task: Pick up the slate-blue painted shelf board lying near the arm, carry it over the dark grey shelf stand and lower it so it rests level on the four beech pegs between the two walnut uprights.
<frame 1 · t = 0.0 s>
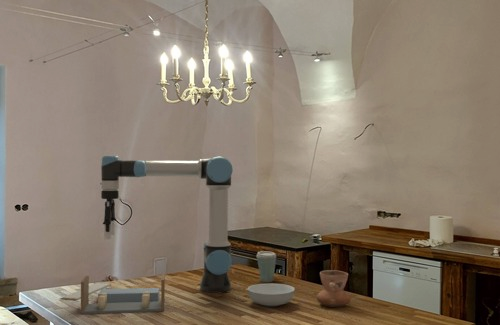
hand: (109, 237, 233), 28 cm above the kitchen island countertop, tool pointing down, fingers open, 13 cm apart
disposable coffee cup: (266, 281, 271), on the kitchen island countertop
ceramic jug: (333, 305, 226), on the kitchen island countertop
shelf board: (129, 300, 231), on the kitchen island countertop
serving bowl: (270, 304, 227), on the kitchen island countertop
peg shelf: (124, 308, 217), on the kitchen island countertop
baseboard: (85, 293, 246), on the kitchen island countertop
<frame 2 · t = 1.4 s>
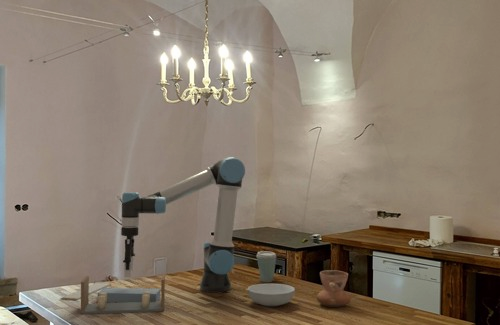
hand: (128, 274, 231), 12 cm above the kitchen island countertop, tool pointing down, fingers open, 13 cm apart
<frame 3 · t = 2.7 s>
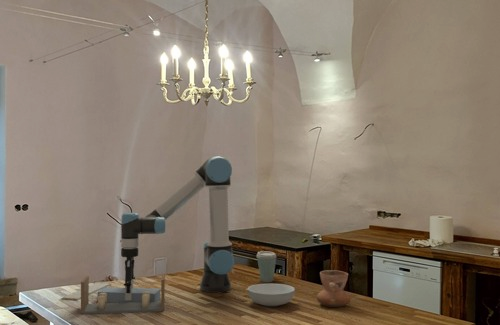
hand: (129, 297, 231), 1 cm above the kitchen island countertop, tool pointing down, fingers closed on shelf board, 10 cm apart
shelf board: (129, 300, 231), on the kitchen island countertop, touching gripper
everything else where it was.
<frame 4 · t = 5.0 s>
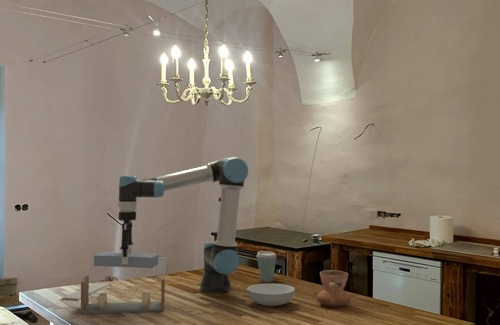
hand: (126, 261, 226), 18 cm above the kitchen island countertop, tool pointing down, fingers closed on shelf board, 10 cm apart
shelf board: (126, 265, 226), point 17 cm above the kitchen island countertop, touching gripper
everything else where it was.
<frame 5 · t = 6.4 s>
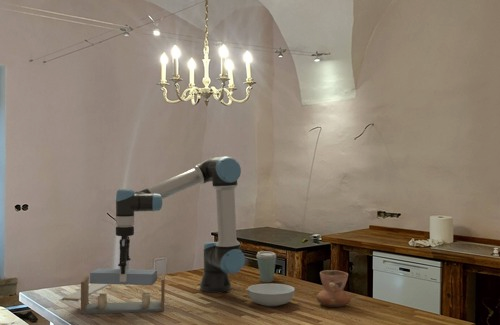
hand: (124, 278, 217), 13 cm above the kitchen island countertop, tool pointing down, fingers closed on shelf board, 10 cm apart
shelf board: (124, 282, 217), point 11 cm above the kitchen island countertop, touching gripper
everything else where it was.
when the fingers open (9 cm above the kitchen island countertop, at t = 7.6 s): shelf board drops 1 cm, resting on peg shelf.
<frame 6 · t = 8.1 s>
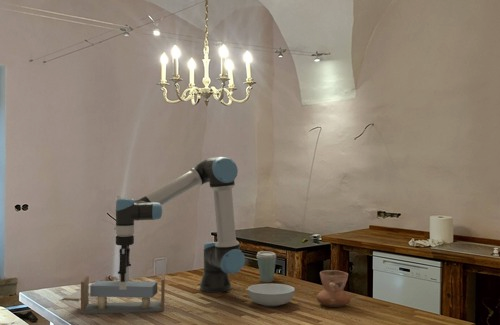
hand: (124, 285, 217), 10 cm above the kitchen island countertop, tool pointing down, fingers open, 13 cm apart
shelf board: (124, 294, 217), point 6 cm above the kitchen island countertop, touching peg shelf
everything else where it was.
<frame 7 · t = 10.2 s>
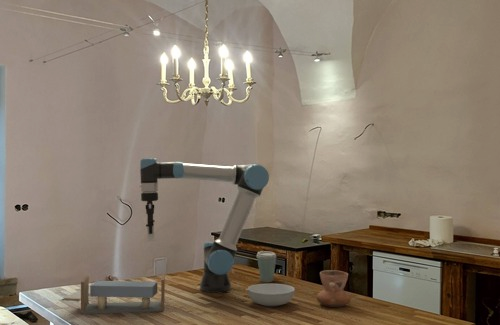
hand: (150, 238, 234), 27 cm above the kitchen island countertop, tool pointing down, fingers open, 13 cm apart
nothing on the kitchen island countertop moved.
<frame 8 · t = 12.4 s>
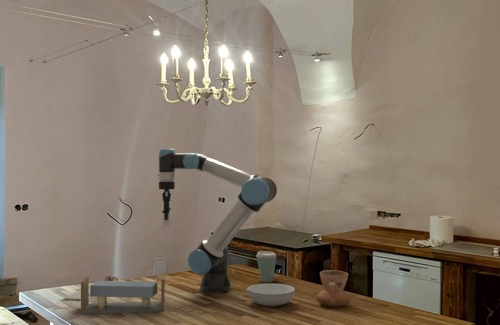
hand: (166, 225, 248), 32 cm above the kitchen island countertop, tool pointing down, fingers open, 13 cm apart
at the end: shelf board inside the target area on the peg shelf (0.1 cm from its centre), point 6.0 cm above the peg shelf's base; shelf board tilted 0°; shelf board touching peg shelf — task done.
